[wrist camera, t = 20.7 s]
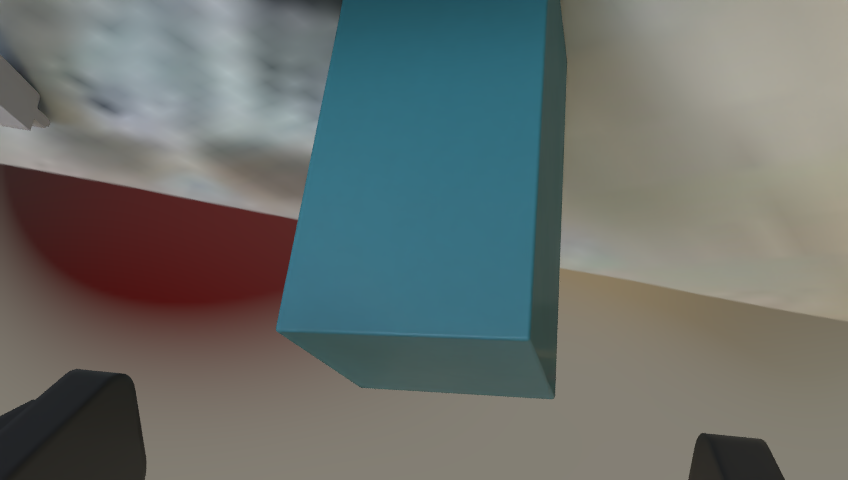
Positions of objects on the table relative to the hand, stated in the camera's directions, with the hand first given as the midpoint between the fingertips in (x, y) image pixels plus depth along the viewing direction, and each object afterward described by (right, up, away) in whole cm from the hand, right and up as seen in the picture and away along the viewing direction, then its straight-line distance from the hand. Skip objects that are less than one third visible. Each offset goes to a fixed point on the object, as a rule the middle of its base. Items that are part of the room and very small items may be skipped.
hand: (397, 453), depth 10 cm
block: (+2, +9, +9) cm, 13 cm away
